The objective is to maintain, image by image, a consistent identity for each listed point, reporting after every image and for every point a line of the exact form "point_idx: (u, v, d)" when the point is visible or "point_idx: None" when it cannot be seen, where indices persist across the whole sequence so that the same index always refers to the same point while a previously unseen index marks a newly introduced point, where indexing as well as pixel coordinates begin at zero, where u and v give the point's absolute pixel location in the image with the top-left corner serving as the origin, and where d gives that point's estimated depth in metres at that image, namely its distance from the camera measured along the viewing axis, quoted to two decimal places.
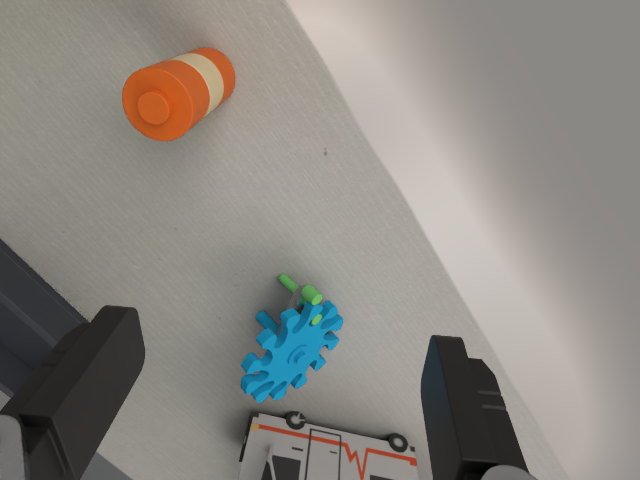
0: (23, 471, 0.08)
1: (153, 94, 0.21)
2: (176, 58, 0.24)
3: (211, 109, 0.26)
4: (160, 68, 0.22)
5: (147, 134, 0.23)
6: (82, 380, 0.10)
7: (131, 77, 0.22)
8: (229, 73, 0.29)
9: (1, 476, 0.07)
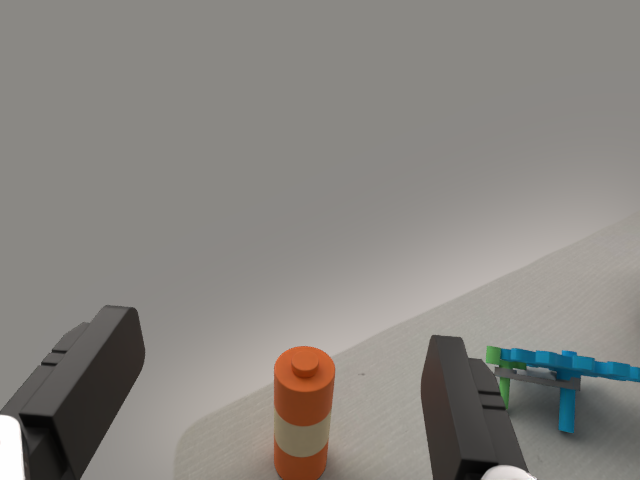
0: (23, 471, 0.08)
1: (293, 357, 0.26)
2: None
3: None
4: None
5: (329, 378, 0.26)
6: (82, 380, 0.10)
7: (281, 381, 0.25)
8: None
9: (1, 476, 0.07)
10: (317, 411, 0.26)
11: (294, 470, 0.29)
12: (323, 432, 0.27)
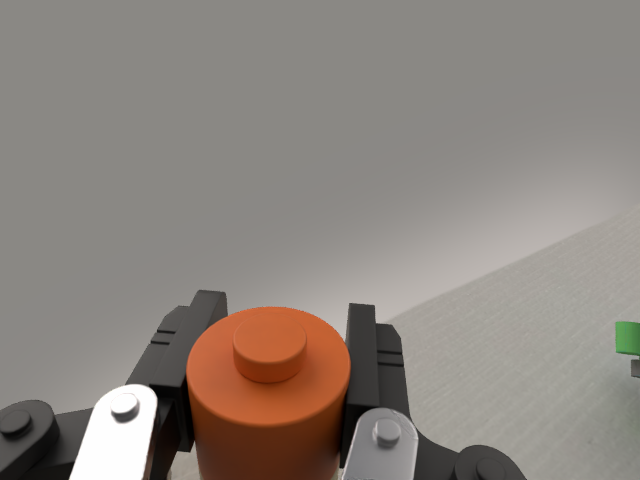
0: (147, 449, 0.08)
1: (239, 329, 0.10)
2: None
3: None
4: None
5: (337, 384, 0.09)
6: None
7: (199, 395, 0.09)
8: None
9: (130, 447, 0.08)
10: (304, 475, 0.09)
11: None
12: None
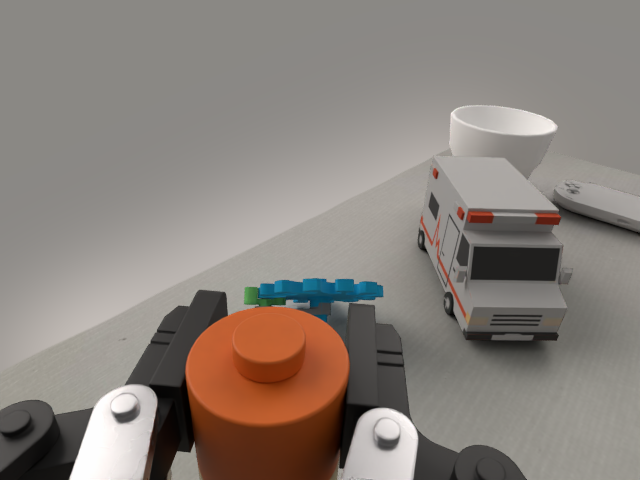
0: (147, 449, 0.08)
1: (238, 328, 0.10)
2: None
3: None
4: None
5: (336, 383, 0.09)
6: None
7: (198, 394, 0.09)
8: None
9: (130, 447, 0.08)
10: (303, 475, 0.10)
11: None
12: None
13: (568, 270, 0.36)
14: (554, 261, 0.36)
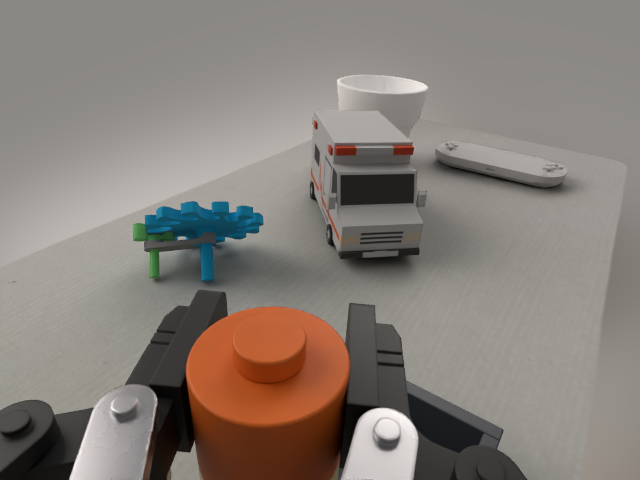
0: (147, 449, 0.08)
1: (238, 329, 0.10)
2: None
3: None
4: None
5: (337, 383, 0.09)
6: None
7: (199, 395, 0.09)
8: None
9: (130, 447, 0.08)
10: (303, 475, 0.10)
11: None
12: None
13: (423, 193, 0.42)
14: (411, 185, 0.41)
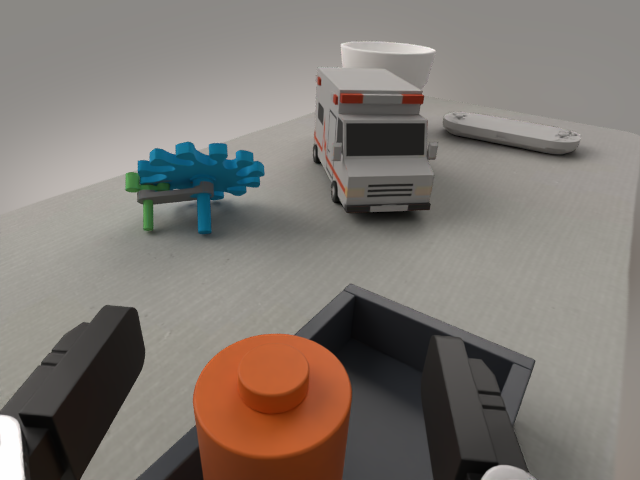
0: (23, 471, 0.08)
1: (244, 360, 0.10)
2: None
3: None
4: None
5: (339, 414, 0.10)
6: (82, 380, 0.10)
7: (206, 426, 0.09)
8: None
9: (1, 476, 0.07)
10: None
11: None
12: None
13: (434, 144, 0.39)
14: (421, 136, 0.39)
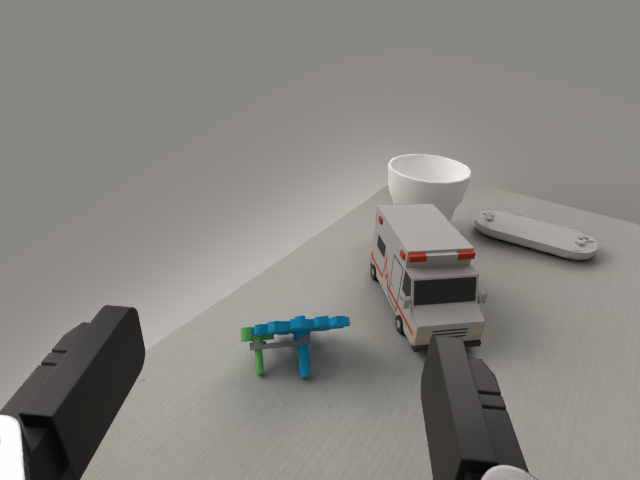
0: (23, 471, 0.08)
1: None
2: None
3: None
4: None
5: None
6: (82, 380, 0.10)
7: None
8: None
9: (1, 476, 0.07)
10: None
11: None
12: None
13: (483, 292, 0.48)
14: (473, 286, 0.48)
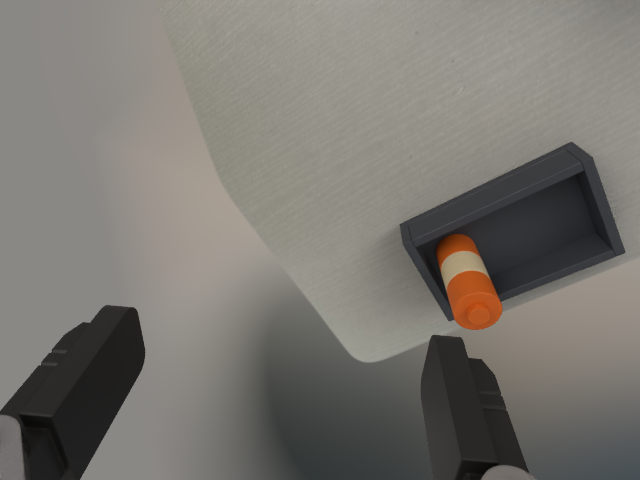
0: (23, 471, 0.08)
1: (472, 312, 0.33)
2: (448, 277, 0.36)
3: (487, 272, 0.37)
4: (459, 298, 0.33)
5: (488, 325, 0.34)
6: (82, 380, 0.10)
7: (454, 315, 0.34)
8: (465, 241, 0.39)
9: (1, 476, 0.07)
10: None
11: None
12: None
13: None
14: None
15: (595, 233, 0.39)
